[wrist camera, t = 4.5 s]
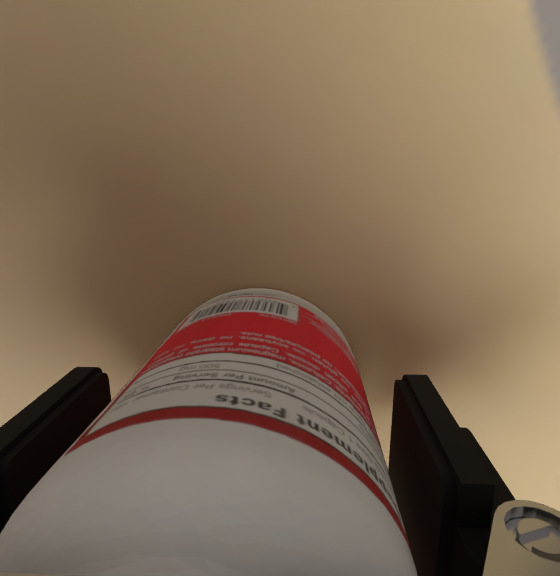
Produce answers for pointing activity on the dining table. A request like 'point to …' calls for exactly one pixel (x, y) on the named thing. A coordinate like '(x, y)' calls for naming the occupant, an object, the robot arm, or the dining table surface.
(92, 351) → the dining table surface
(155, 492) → the pill bottle
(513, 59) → the dining table surface
